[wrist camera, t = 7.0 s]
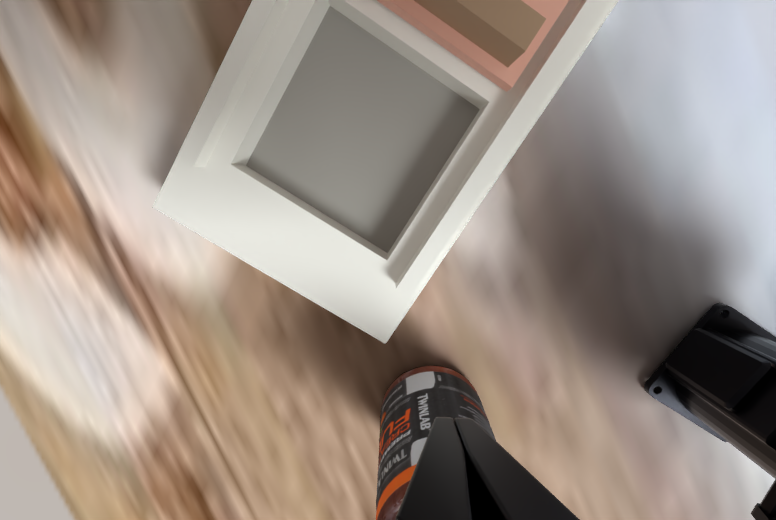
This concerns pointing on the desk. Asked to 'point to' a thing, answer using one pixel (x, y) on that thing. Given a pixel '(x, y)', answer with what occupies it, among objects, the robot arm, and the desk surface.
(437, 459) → the robot arm
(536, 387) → the desk surface
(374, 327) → the board
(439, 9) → the lid
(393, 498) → the supplement bottle
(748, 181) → the desk surface
